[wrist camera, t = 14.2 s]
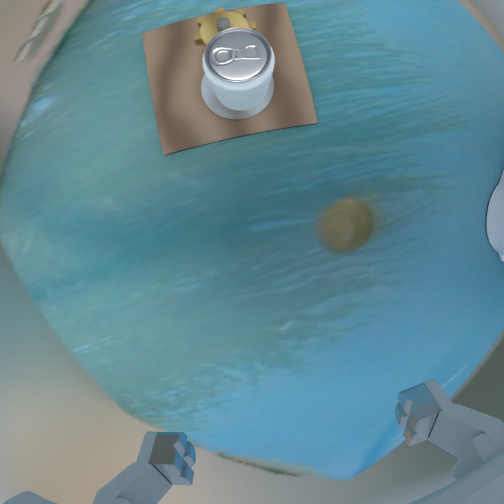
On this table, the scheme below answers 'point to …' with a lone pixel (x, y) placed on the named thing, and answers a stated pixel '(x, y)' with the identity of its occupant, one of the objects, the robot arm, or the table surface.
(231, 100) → the can
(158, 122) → the board
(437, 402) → the robot arm
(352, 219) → the table surface
